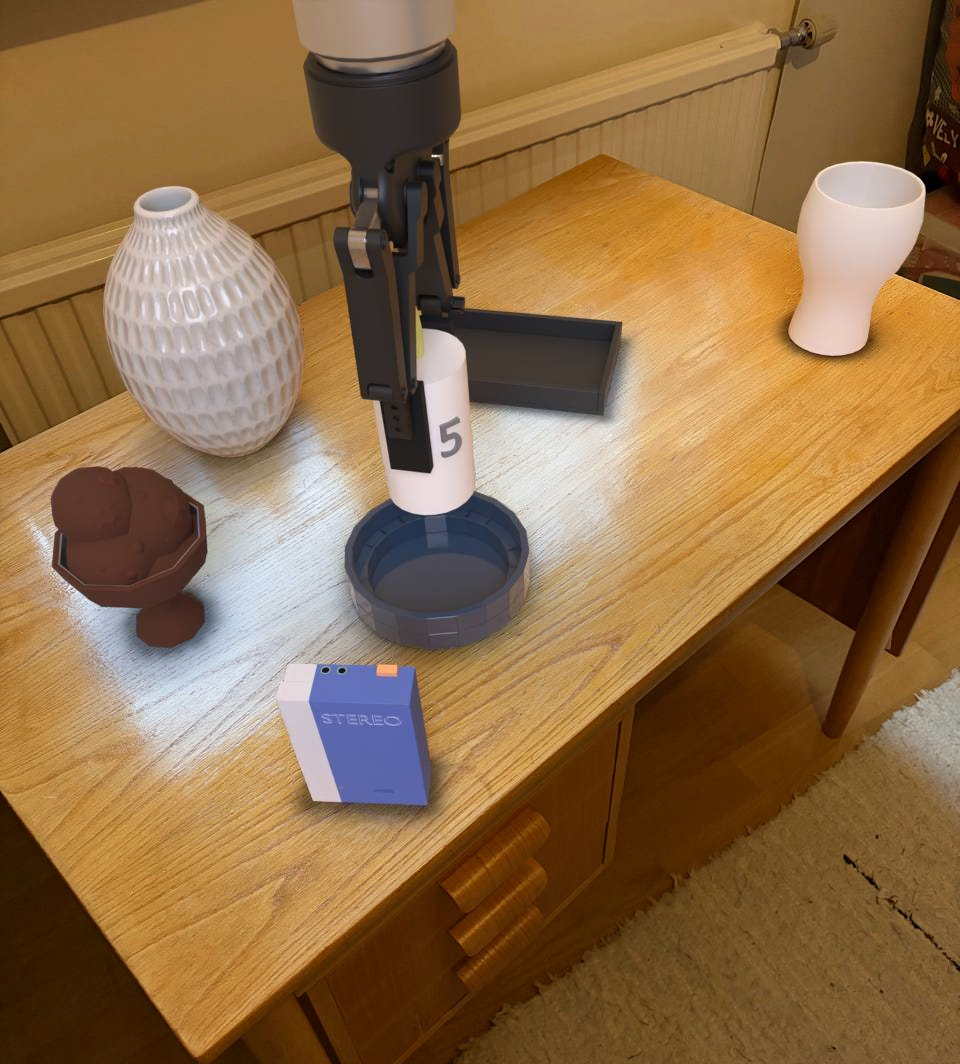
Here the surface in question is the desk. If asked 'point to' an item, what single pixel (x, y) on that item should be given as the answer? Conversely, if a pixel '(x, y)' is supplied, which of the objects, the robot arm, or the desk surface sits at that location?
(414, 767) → the walkman
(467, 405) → the candle
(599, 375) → the tray
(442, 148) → the robot arm
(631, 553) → the desk surface
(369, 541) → the bowl
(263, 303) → the vase
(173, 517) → the ice cream bowl
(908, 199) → the cup
